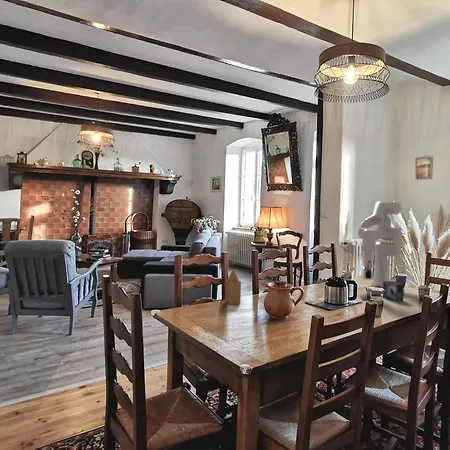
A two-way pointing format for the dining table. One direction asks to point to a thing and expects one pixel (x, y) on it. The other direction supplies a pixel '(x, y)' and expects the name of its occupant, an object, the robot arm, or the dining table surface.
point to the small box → (393, 291)
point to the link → (365, 274)
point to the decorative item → (233, 289)
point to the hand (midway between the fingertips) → (367, 276)
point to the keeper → (366, 296)
